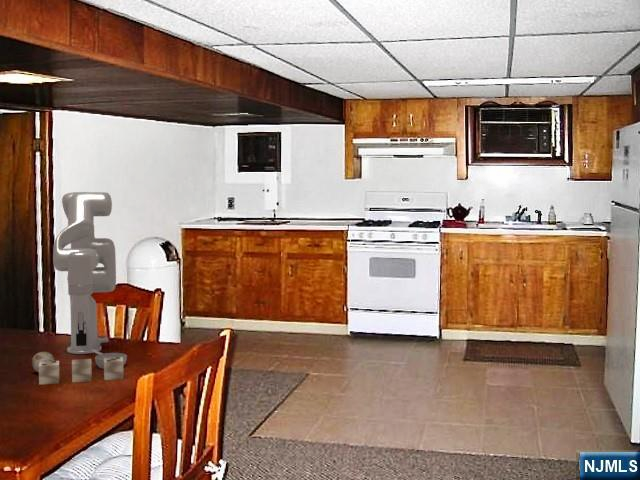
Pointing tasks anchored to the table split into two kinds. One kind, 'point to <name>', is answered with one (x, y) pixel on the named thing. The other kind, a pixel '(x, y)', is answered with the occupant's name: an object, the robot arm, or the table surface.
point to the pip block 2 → (113, 368)
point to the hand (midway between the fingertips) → (81, 345)
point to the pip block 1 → (49, 372)
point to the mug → (41, 359)
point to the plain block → (81, 370)
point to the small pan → (100, 358)
